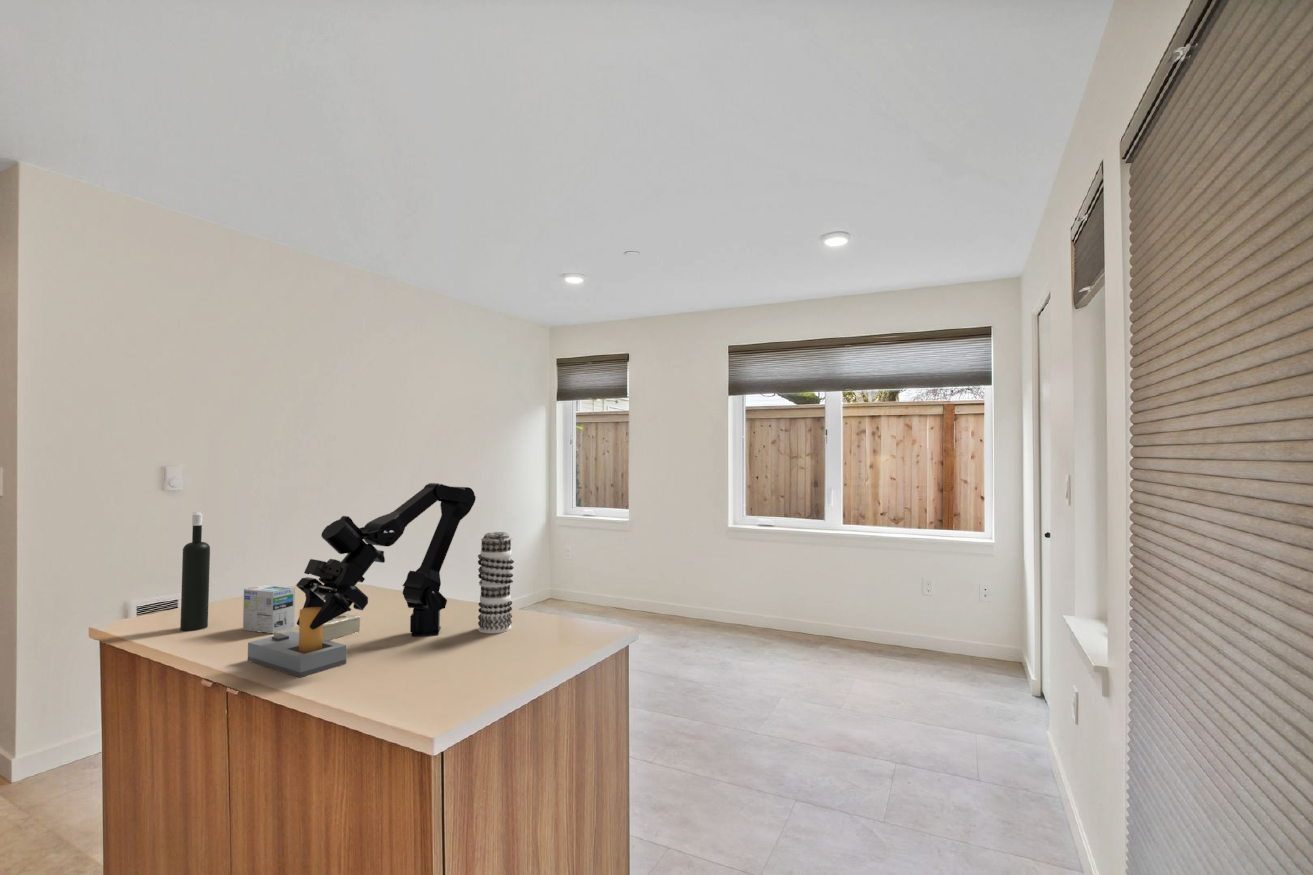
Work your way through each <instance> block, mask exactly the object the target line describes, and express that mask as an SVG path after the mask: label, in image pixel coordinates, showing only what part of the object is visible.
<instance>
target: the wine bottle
mask: <svg viewBox="0 0 1313 875" xmlns="http://www.w3.org/2000/svg"><path fill="white" fill-rule="evenodd" d="M203 515H204V512H203V511H196V512H194V511H193V512H192V521H191V525H192V531H191V532H192V538H191V542H188V543H186V544H185V545H184V546H183V547H182V559H181V560H182V562H181V563H182V565H181V566H182V567H181V568H182V570H181V593H180V594H181V596H180V623H179V624H180V629H179V630H180V631H182V632H192V631H193V632H194V631H200V630H204V629H206V628H208V626H209V602H210V600H209V599H210V598H209V596H210V593H209V591H210V560H211V559H210V558H211V546H210V545H209V543H208V542H206V541H202V537H203V536H202V535H203V534H202V533H203V532H202V531H203V528H202V527H203V518H204V517H203Z"/></svg>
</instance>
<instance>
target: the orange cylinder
mask: <svg viewBox="0 0 1313 875" xmlns="http://www.w3.org/2000/svg"><path fill="white" fill-rule="evenodd" d="M321 608H322V607H308V608H303V607H302V608H301V609H300V610H299V616H300V617H298V619H299V625H298V626H299V652H300V653H303V654H305V653H309V652H313V651H317V650H320V649H322V633H323V625H321V626H319V627H317V628H316V629H314V630H313V629H311V628H310V625H311V623H312V621H313V620H314V618H315V617H316V615H317V614H318V613H319V611H320V610H321Z"/></svg>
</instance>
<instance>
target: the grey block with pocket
mask: <svg viewBox="0 0 1313 875" xmlns="http://www.w3.org/2000/svg"><path fill="white" fill-rule="evenodd" d="M247 661H248V662H250V661H251V662H250V663H253V664H257V665H260V666H263V667H266V668H269V669H272V670H276V671H278V670H279V671H278V672H282V673H285V674H288V675H291V674H292V675H291V676H294V677H298V678H303V677H306V676H309V674H310V675H314V674H316V673H319V672H323V670H324V671H326V670H329V669H334V668H336V667H340V666H342V665H346V664H347V644H343V643H339V642H335V641H331V640H324V639H322V649H320V650H317V651H313V652H309V653H305V654H303V653H300V652H299V633H297V632H290V633H286V634H281V635H277V636H274V635H273V636H269V637H265V638H261V639H257V640H253V641H248V642H247Z"/></svg>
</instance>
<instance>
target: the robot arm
mask: <svg viewBox="0 0 1313 875" xmlns="http://www.w3.org/2000/svg"><path fill="white" fill-rule="evenodd" d="M476 498H477V497H476V494H475V492H474V490H473V489H472V488H471V487H467V486H466V487H465V486H449V485H446V484H442V483H435V482H433V483H432V482H430V483H428V484H425V485H424V486H423V488H422V489H420V490H419V491H418V492H417V493H416V494H414V495H413V496H412V497H410V498H408V499H407V500H406V501H405V502H404V503H402V504H400V506H398V507H397V508H396V509H394V510H393V511H391V512H390V513H386V514H384V515H381V516H378V517H376V518H374V519H372V520H371V521H368V522H367V523H366V524H365V525H364V526H363V527H362V526H361V527H359V526H358V525H357V524H355V522H354V521H353V519H352V518H351V517H350V516H347V515H342V516H341V517H340V519H337V520H335V521H333V522H331V523H330V524H329V525H326V527H324V529H323V530H322V532H321V538H322V539H323V540H324V541H325V542H327V544H328V545H329V546H330V547H331V548H332V549H334V551H336V552H337V553H338V554H339V555H345V554H346V555H345V556H344V558H343V559H342V560H341V561H340V560H338V559H333V558H329V559H328V560H327V561H324V560H319V559H312V558H310V559H309V561H308V563H307V566H306V568H305V570H304V572H303V574H305V575H310V576H315V577H317V578H318V579H317V578H314V577H308V576H307V577H306V576H305V577H302V578H301V579H300V580H299V581H298V582H297V583H296V585H295V586H296V587H297V588H298V589H299V590H300V591H301V592H303V593H304V594H305V601H304V604H303V607H302V609H303V608H308V607H322V608H321V610H320V611H319V613H318V614H317V615H316V617H315V618H314V620H313V621H312V623H311V625H310V628H311V629H313V630H314V629H316V628H317V627H319V626H321V625H323V624H324V623H326V622H328V621H330V620H332V619H333V618H335V617H337V616H339V615H341V614H343V613H345V614H346V613H347V612H350V611H352V608H351V606H352V605H353V609H354V610H358V611H364V609H365V607H366V606H367V605H368V603H369V596H367V595H366V594H365V593H364V592H363V591H362V590H361V589H360V588H359V587H358V586H357V584H358V583H363V582H365V580H366V577H364V575H365V574H366V572H367V571H368V570H369V569H370V567H371V566H372V565H373V563H374V562H375V563H382V564H383V563H385V562H386V558H385V551H384V550H381V549H380V550H378V549H377V548H376V547H375V546H380V547H391V546H393V545H394V544H395V543H396V542H397V541H398V540H399V539H400V538H401V536H402V535H403V534H404V532H405V529H406V527H408V525H409V524H410V523H411V522H413V521H414V520H415V519H416V518H419V516H420V515H421V514H423V513H424V512H425V511H427V510H428V509H429V508H430V507H431V506H433V505H434V504H435V503H437V502H440V506H439V507H440V512H441V516H440V518H439V521H438V523H437V525H436V528H435V531H434V533H433V536H432V537H431V540H430V543H429V545H428V548H427V550H426V553H425V555H424V557H423V558H422V562H421V565H420V567H418V568H417V569H416V570H415V571H414V570H409V571H408V573H407V576H406V579H405V581H404V583H403V584H402V587H403V589H402V595H403V598H404V600H405V601H406V604H407V607H408V608H410V609H411V608H412V613H411V615H410V617H409V618H410V620H409V623H410V624H409V632H411V634H410V635H411V637H416V636H417V637H420V636H421V637H422V636H436V635H439V634H440V630H441V629H442V626H441V625H440V622H441V610H445V609H446V605H447V603H448V599H447V598H446V597H445V596H444V595H443V594H442V593H441V592H440V589H441V584H442V583H441V574H440V572H441V569H442V567H443V564H444V562H445V560H446V557H447V554H448V552H449V550H450V547H451V544H452V541H453V539H454V537H455V534H456V532H457V529H458V526H459V524H460V522H461V521H462V520H463V519H464V518H465V517H466V516H467V515H468V514H469V513H470V512H471V510H472V508H473V507H474V505H475V502H476ZM299 617H300V615H299ZM299 617H298V619H297V622H296V625H297V626H299Z"/></svg>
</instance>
